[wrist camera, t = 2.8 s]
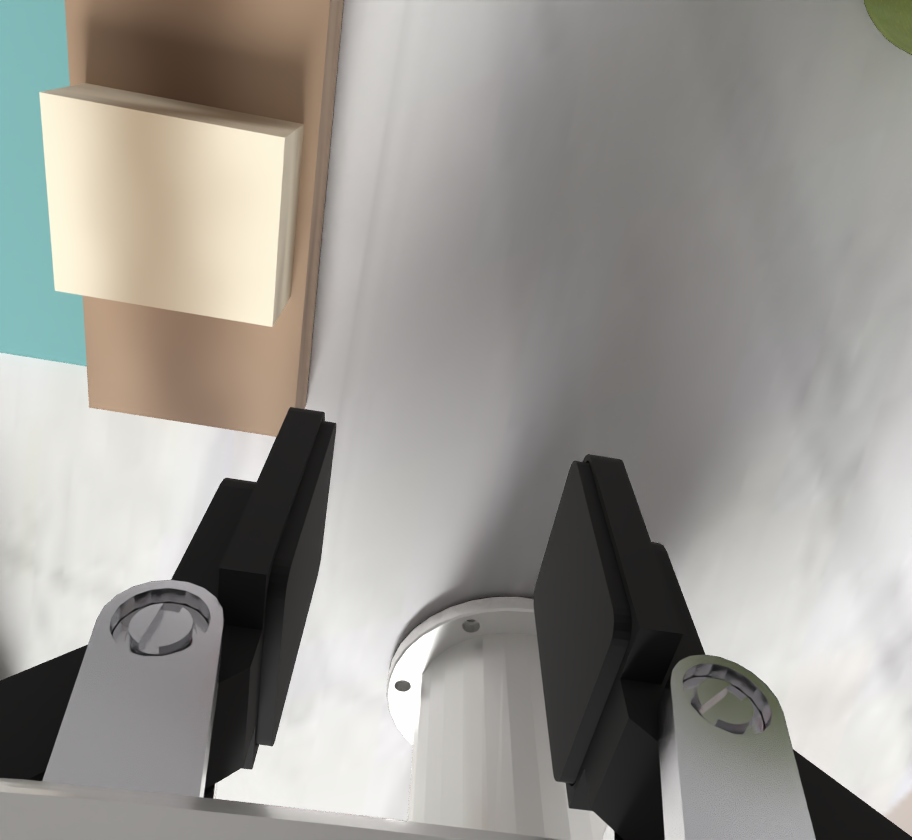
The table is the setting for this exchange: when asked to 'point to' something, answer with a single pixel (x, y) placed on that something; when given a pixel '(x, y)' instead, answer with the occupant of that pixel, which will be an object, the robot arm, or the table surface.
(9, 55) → the teal mat
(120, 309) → the board
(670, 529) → the table surface
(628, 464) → the table surface
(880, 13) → the plant pot
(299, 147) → the birch tile
